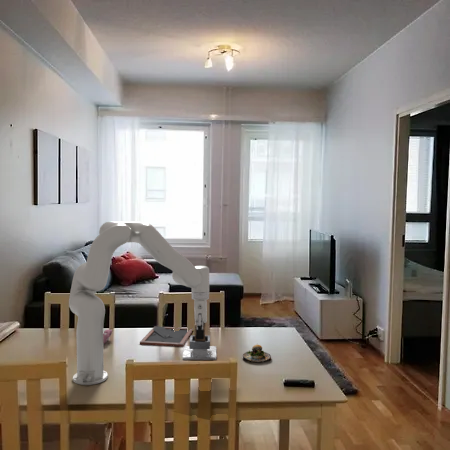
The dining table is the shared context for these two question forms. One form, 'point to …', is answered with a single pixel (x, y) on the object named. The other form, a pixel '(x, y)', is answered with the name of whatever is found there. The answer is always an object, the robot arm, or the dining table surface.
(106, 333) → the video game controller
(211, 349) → the cup bracket
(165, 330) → the picture frame
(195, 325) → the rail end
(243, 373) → the dining table surface
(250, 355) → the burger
